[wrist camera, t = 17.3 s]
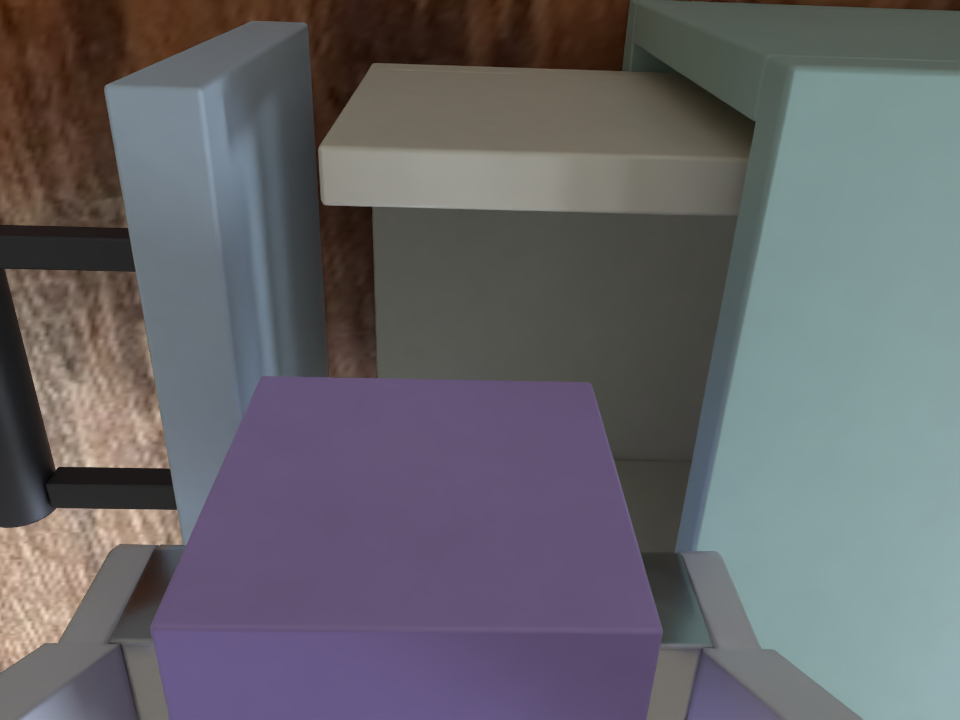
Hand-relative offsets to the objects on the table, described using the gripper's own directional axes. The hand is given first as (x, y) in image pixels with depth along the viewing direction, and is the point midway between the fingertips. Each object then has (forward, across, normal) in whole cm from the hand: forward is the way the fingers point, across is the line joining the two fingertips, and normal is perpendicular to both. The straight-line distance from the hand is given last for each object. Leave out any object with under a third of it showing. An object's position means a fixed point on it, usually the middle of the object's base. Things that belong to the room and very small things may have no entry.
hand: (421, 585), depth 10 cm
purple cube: (+2, 0, 0) cm, 2 cm away
